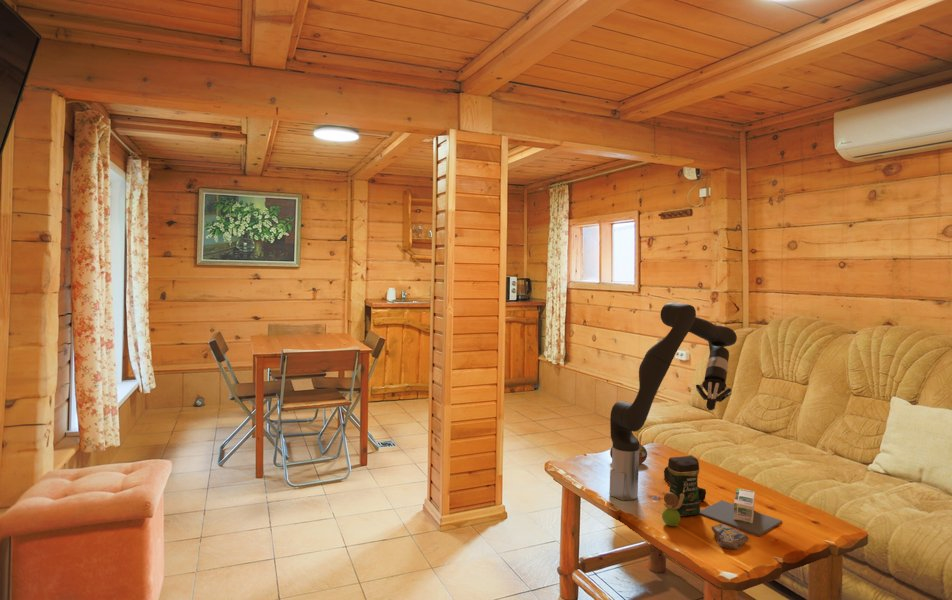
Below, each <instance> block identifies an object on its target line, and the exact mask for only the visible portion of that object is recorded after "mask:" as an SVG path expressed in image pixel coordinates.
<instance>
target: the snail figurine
mask: <svg viewBox="0 0 952 600" xmlns="http://www.w3.org/2000/svg"><path fill="white" fill-rule="evenodd" d="M684 492H685V490H683V494H680V499H679V500H678V497H677V496H676V495H675V494H674V493H670V491H669V492H666V493H665V494H664V496H663V501H664V503H663V506H664V507H665V509H664V510H663V511H662V513H661V518H662V522H664V524H665V525H667V526H669V527H675V526H677V525H679V524H680V521H681V516H680V514H679V512H678V511H677V510H676V509H679V508H680V507H681V505H682V502H683V499H684V496H685V495H684Z"/></svg>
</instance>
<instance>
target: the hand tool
mask: <svg viewBox="0 0 952 600" xmlns="http://www.w3.org/2000/svg"><path fill="white" fill-rule="evenodd" d="M663 478H664V480H665V481H666V482H667V483H669V484H670V472H669V470H668V466H666V467H664V470H663ZM698 494H699V502H703V501H704V500H705V499H706V495H707V491H706V489H704V488H703V487H700V486H698Z"/></svg>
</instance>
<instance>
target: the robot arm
mask: <svg viewBox="0 0 952 600" xmlns="http://www.w3.org/2000/svg"><path fill="white" fill-rule="evenodd" d="M696 312H697V310H696V308H695V307H694V306H693V305H691V304H688V303H687V304H686V303H680V302H679V303H678V302H668V303H666V304H663V306H662V307H661V310H660V315H659V317H660V320H661V322H662V324H664V325H665V326H667V327H670V328H671V329H670V331H669V332H668V333H667V334H666V335H665V336H664V337H663V338H662V339H660V340H659V341H658V342H656V343H655V344H654V345H652V346H651V347H650V348H649V349H648V350H647V351H646V353H645V355H644V357H643V358H642V361H641V363H640V365H639V368H638V382H639V384H638V385H639V387H638V388H639V389H638V392H637V394H636V397H635V399H634V401H633V402H627V401H623V400H619V401H617V402H615V403H614V404H613V406H612V408H611V410H610V417H609V420H610V421H609V422H610V425H609V426H610V439H611V441H612V446H613V448H612V447H611V448H612V458H611V469H610V470H609V496H611V497H613V498H616V499H618V500H621V501H623V502H624V501H632V500H636V499H638V497H639V496H638V495H639V493H638V492H639V471H640V469H639V468H640V467H639V465H640V464H639V446H640V445H641V444H640V441H639V439H638V438H637V437H636V436H635V435H634V434H633V432H638V431H639V430H641V429H642V428H643V427H644V424H645V423H646V421H647V419H648V416H649V413H650V410H651V407H652V405H653V403H654V400H655V397H656V395H657V392H658V391H659V388H660V386H661V384H662V383H663V380H664V378H665V376H666V375H667V373H668V371H669V368H670V366H671V365H672V361H673V360H674V357H675V356H676V354H677V352H678V351H679V349H680V346H681V344H682V343H683V342H684V341H685V338H686V337H687V335H688V333H691V334H692V335H695V336H697V337H698V338H700V339H703V340H704V341H707V343H708V347H709V348H708V349H709V357H708V361H707V364H706V368H705V373H704V380H703V381H702V383H701V384H696V385H695V388H696V392H697V393H698V394H699V395H700V397H701V398H702V399H703V401H706V409H708V411H713V410H715V409H716V404H717V402H719V403H722V402H723V401H724V400H726V399H727V398H728V397H729V396H731V395H732V393H733V392H732V388H731V387H727V383H726V382H727V375H728V372H729V371H728V370H729V358H730V351H729V350H728V348H727V347H731V346H733V345H735V344H736V342H737V341H738V339H737V338H738V336H737V334H736V332H735V331H734V330H733V329H732V328H730V327H728V326H724V325H717V324H714V323H713V322H711V321H708V320H706V319H704V318H700V317H697V315H696V314H697V313H696ZM704 390H705V391H704ZM706 393H707V394H706Z"/></svg>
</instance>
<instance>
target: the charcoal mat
mask: <svg viewBox="0 0 952 600" xmlns="http://www.w3.org/2000/svg"><path fill="white" fill-rule="evenodd" d="M698 515H701V516H703V517H705V518H708V519H711V520H714V521H716V522H718V523H719V522H720V523H721V524H723V525H726V526H729V527H731V528H734V529H735V528H736V529H738V530H740V531H741V530H742V531H744V532H747V533H749V534H751V535H754V536H758V537H761V536H762V535H764V534H766V533H767V532H769V531H770V530H772V529H773V528H775V527H777V526H778V525H780V524H782V522H783V520H782V519H780V518H775V517H773V516H770V515H767V514H764V513H760V512H758V511H755V510H754V515H753V523H748V522H743V521H739V520H734V519H733V518H734V503H732V502H729V501H725V500H722V499H721V500H719V501H716V502H715V503H713V504H711V505H708V506H707V507H705V508H703V509H700V512H699V514H698Z"/></svg>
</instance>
